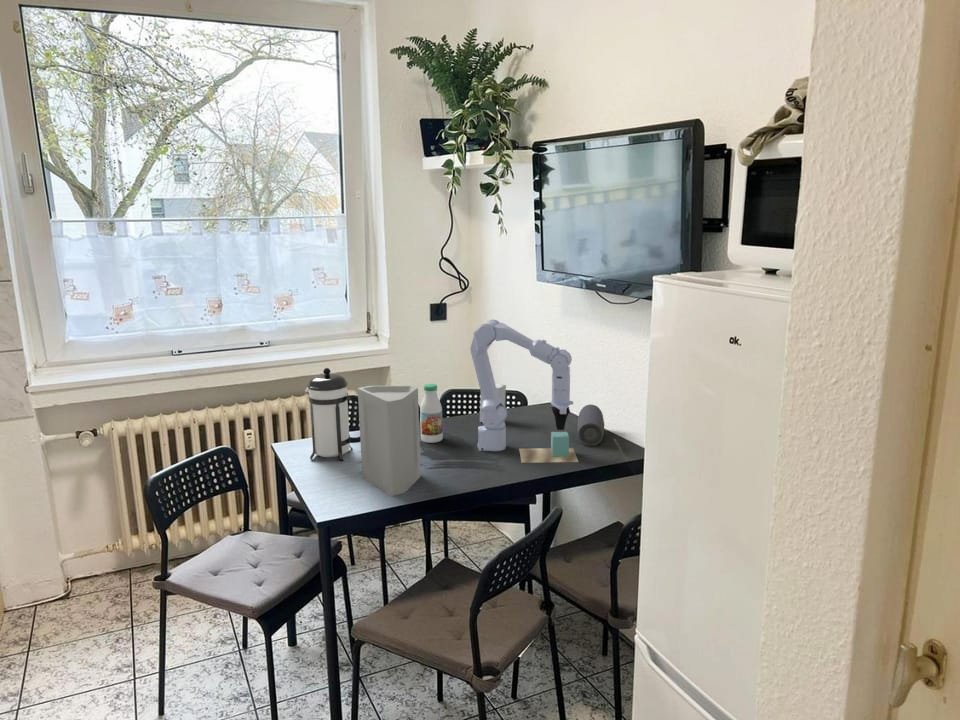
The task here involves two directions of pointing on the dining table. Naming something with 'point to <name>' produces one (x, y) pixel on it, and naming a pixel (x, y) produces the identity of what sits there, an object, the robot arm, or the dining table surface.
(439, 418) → the milk bottle
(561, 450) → the teal foam brick
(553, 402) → the robot arm
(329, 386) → the coffee press
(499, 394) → the skincare box
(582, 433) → the bluetooth speaker
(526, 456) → the base board
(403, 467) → the hollow triangular prism
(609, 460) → the dining table surface
